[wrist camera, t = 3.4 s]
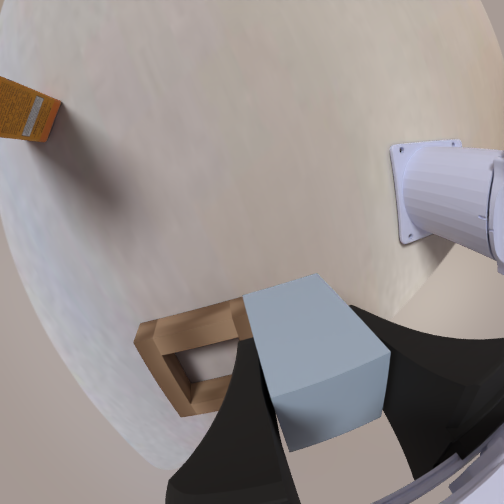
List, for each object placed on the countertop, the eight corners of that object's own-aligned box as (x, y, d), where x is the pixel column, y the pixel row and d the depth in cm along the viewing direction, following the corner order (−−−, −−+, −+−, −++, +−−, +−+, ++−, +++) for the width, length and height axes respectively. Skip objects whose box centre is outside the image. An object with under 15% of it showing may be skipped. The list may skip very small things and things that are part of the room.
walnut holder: (249, 294, 19) (255, 312, 17) (272, 375, 22) (279, 395, 20) (140, 323, 19) (133, 342, 16) (181, 397, 21) (180, 417, 19)
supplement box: (65, 97, 13) (-28, 62, 3) (47, 143, 14) (-55, 141, 4) (36, 91, 12) (-52, 64, 2) (20, 134, 13) (-75, 131, 3)
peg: (317, 273, 12) (390, 351, 6) (325, 332, 13) (380, 416, 8) (242, 295, 12) (270, 397, 6) (259, 353, 13) (289, 452, 7)
